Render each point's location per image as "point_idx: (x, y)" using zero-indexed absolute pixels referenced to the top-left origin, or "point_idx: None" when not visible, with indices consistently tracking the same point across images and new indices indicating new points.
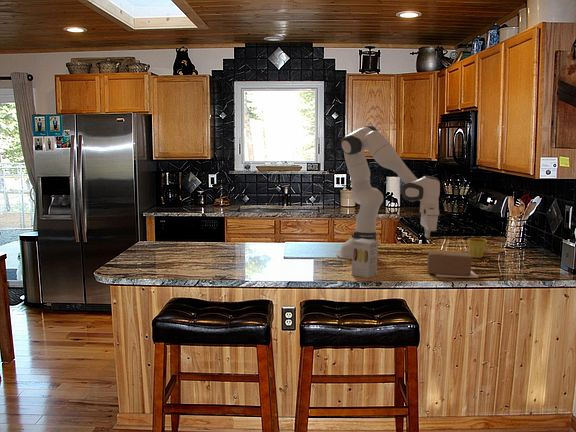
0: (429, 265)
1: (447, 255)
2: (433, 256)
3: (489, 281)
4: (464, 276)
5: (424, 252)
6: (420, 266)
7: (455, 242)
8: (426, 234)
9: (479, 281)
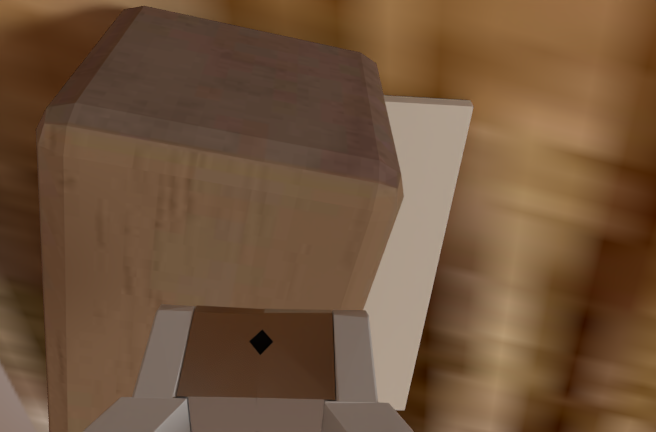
0: (95, 46)
1: (47, 350)
2: (37, 162)
3: (43, 426)
4: None
5: None
6: (598, 15)
7: None
8: (135, 389)
9: (16, 374)
